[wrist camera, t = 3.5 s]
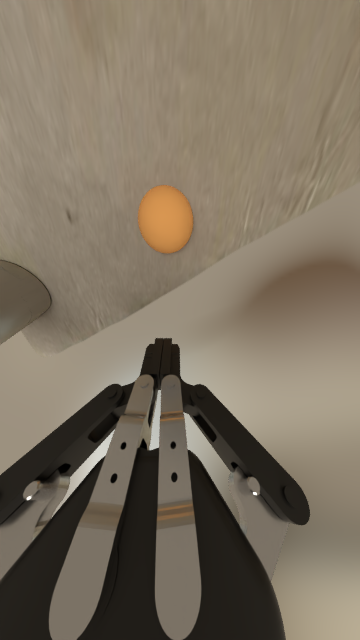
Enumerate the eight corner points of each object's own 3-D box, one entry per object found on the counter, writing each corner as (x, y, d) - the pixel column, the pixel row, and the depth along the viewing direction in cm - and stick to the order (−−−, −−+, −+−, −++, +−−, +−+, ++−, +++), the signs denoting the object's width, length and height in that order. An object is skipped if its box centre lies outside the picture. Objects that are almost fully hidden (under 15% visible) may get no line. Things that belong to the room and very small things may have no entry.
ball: (175, 257, 20) (175, 269, 15) (136, 231, 18) (122, 235, 13) (200, 213, 17) (209, 210, 12) (156, 176, 15) (147, 155, 10)
